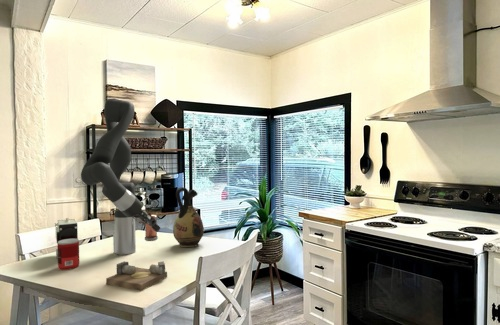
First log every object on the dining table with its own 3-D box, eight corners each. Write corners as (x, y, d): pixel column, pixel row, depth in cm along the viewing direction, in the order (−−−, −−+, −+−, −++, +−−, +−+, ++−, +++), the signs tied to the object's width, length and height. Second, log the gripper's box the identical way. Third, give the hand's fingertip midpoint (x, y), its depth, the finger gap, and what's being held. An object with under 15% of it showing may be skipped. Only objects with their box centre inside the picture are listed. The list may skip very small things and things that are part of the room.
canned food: (83, 264, 147) (83, 239, 147) (68, 270, 139) (67, 243, 139) (69, 263, 149) (69, 237, 149) (53, 269, 142) (53, 242, 141)
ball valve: (54, 253, 164) (54, 216, 164) (75, 251, 169) (74, 214, 169) (56, 263, 149) (55, 222, 149) (78, 260, 153) (77, 220, 153)
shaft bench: (106, 284, 124) (105, 268, 124) (134, 271, 137) (134, 257, 137) (143, 290, 117) (143, 274, 117) (169, 277, 130) (169, 262, 130)
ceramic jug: (191, 240, 188) (191, 185, 188) (210, 245, 177) (209, 186, 177) (164, 246, 176) (163, 187, 175) (182, 251, 165) (181, 189, 165)
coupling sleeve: (142, 240, 139) (141, 215, 139) (150, 238, 144) (150, 213, 144) (152, 241, 137) (151, 216, 137) (160, 239, 142) (159, 214, 142)
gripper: (142, 196, 130) (170, 224, 139) (124, 193, 140) (151, 219, 149) (129, 212, 126) (159, 239, 135) (111, 208, 136) (140, 234, 145)
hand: (155, 229), depth 142 cm, fingers closed on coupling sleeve, 4 cm apart
